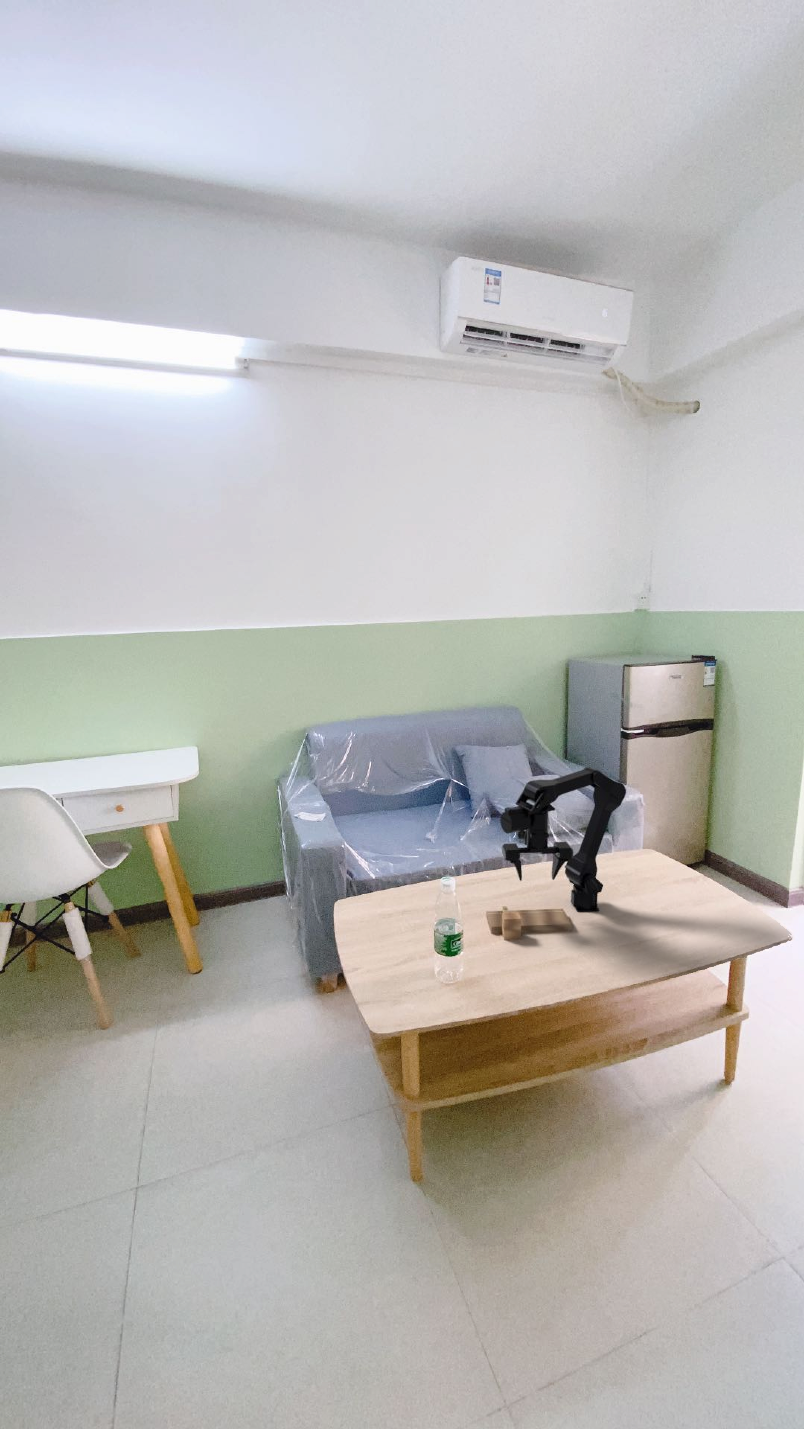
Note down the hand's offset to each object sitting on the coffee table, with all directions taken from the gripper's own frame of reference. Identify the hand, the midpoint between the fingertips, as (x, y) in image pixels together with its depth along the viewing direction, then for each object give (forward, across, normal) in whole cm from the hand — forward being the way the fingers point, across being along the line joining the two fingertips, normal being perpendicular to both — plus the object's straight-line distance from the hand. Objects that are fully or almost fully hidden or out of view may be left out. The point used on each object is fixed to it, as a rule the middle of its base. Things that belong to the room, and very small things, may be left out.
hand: (536, 879), depth 152 cm
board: (+12, +3, +2) cm, 13 cm away
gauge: (+12, +9, +4) cm, 16 cm away
